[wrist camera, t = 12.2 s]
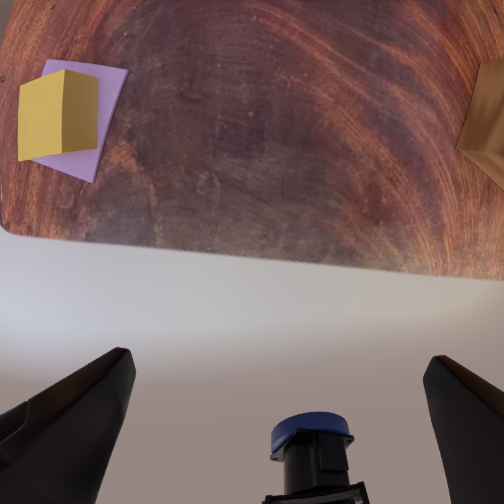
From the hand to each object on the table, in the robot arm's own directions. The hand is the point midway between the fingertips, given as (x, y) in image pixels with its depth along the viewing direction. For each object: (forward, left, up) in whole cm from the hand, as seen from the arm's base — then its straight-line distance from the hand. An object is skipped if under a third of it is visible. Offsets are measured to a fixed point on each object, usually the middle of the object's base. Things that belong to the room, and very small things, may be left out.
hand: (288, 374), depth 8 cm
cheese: (+3, +16, -12) cm, 20 cm away
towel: (+3, +17, -12) cm, 21 cm away
